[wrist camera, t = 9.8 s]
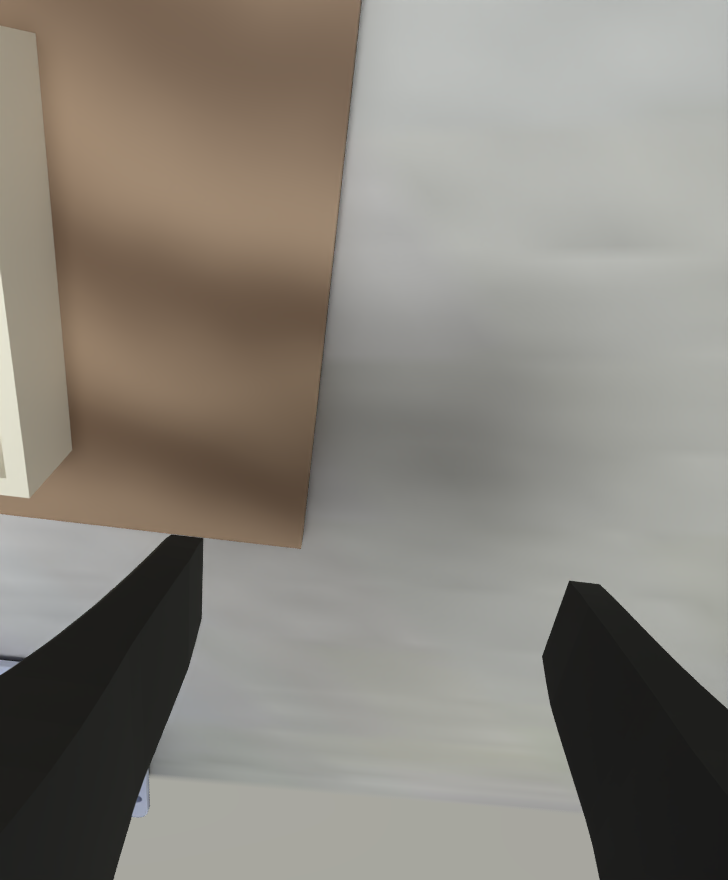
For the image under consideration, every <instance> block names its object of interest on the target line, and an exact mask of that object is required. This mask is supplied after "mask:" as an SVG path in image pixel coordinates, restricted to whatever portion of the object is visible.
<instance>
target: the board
mask: <svg viewBox="0 0 728 880" xmlns="http://www.w3.org/2000/svg"><path fill="white" fill-rule="evenodd" d="M361 2H362V0H0V26H4V27H9V28H14V29H18V30H23V31H27V32H32V33H36V45H37V56H38V67H39V79H40V90H41V101H42V113H43V124H44V135H45V147H46V158H47V169H48V181H49V192H50V203H51V215H52V226H53V237H54V249H55V260H56V271H57V283H58V294H59V305H60V317H61V328H62V339H63V351H64V362H65V373H66V385H67V396H68V407H69V419H70V430H71V441H72V451H71V452H70V453H69V454H68V455H67V457H66V458H65V459H64V460H63V461H62V462H61V463H60V465H59V466H58V467H57V468H56V469H55V470H54V471H53V472H52V474H51V475H50V476H49V477H48V478H47V479H46V480H45V481H44V483H43V484H42V485H41V486H40V487H39V488H38V489H37V491H36V492H35V493H34V494H33V495H32V496H31V497H30V498H23V497H14V496H6V495H0V514H6V515H14V516H23V517H31V518H40V519H49V520H57V521H66V522H74V523H83V524H91V525H100V526H109V527H117V528H126V529H134V530H143V531H152V532H160V533H169V534H177V535H186V536H194V537H203V538H212V539H220V540H229V541H237V542H246V543H255V544H263V545H272V546H280V547H289V548H297V549H301V545H302V539H303V532H304V522H305V513H306V504H307V495H308V486H309V477H310V468H311V458H312V449H313V440H314V431H315V422H316V413H317V404H318V395H319V385H320V376H321V367H322V358H323V349H324V340H325V331H326V321H327V312H328V303H329V294H330V285H331V276H332V267H333V258H334V248H335V239H336V230H337V221H338V212H339V203H340V194H341V184H342V175H343V166H344V157H345V148H346V139H347V130H348V120H349V111H350V102H351V93H352V84H353V75H354V66H355V57H356V47H357V38H358V29H359V20H360V11H361Z"/></svg>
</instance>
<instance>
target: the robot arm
mask: <svg viewBox="0 0 728 880" xmlns="http://www.w3.org/2000/svg"><path fill="white" fill-rule="evenodd" d="M202 576H203V538H197V537H189V536H180V535H170V536H169V537H167V538H166V539H165V540H164V541H163V542H162V543H161V544H160V545H159V546H158V547H157V548H156V549H155V550H154V551H153V552H152V553H151V554H150V555H149V556H148V557H147V558H146V559H145V560H144V561H143V562H142V563H141V564H139V565H138V566H137V567H136V568H135V569H134V570H133V571H132V572H131V573H130V574H129V575H128V576H127V577H126V578H125V579H124V580H122V581H121V582H120V583H119V584H118V585H117V586H116V587H115V588H113V589H112V590H111V591H110V592H109V593H108V594H107V595H106V596H104V597H103V598H102V599H101V600H100V601H99V602H98V603H97V604H95V605H94V606H93V607H92V608H91V609H89V610H88V611H87V612H86V613H84V614H83V615H82V616H81V617H79V618H78V619H77V620H76V621H74V622H73V623H72V624H71V625H69V626H68V627H67V628H66V629H64V630H63V631H62V632H61V633H59V634H58V635H57V636H56V637H54V638H53V639H51V640H50V641H49V642H47V643H46V644H45V645H43V646H42V647H41V648H39V649H38V650H36V651H35V652H34V653H32V654H31V655H29V656H28V657H26V658H25V659H24V660H22V661H21V662H16V661H7V660H0V880H113V879H114V875H115V872H116V868H117V864H118V861H119V857H120V854H121V851H122V847H123V844H124V841H125V837H126V834H127V831H128V827H129V824H130V820H131V817H144V816H145V815H147V812H148V809H149V807H150V799H149V770H148V768H149V765H150V763H151V760H152V758H153V755H154V753H155V750H156V748H157V745H158V743H159V740H160V738H161V736H162V733H163V731H164V728H165V726H166V723H167V721H168V718H169V716H170V713H171V711H172V708H173V706H174V703H175V701H176V698H177V695H178V693H179V690H180V688H181V685H182V683H183V680H184V678H185V675H186V673H187V670H188V667H189V664H190V660H191V657H192V653H193V649H194V646H195V642H196V638H197V634H198V630H199V627H200V623H201V619H202ZM542 658H543V665H544V671H545V678H546V684H547V689H548V695H549V700H550V705H551V709H552V712H553V716H554V719H555V722H556V726H557V729H558V732H559V736H560V739H561V742H562V746H563V749H564V752H565V755H566V758H567V762H568V765H569V768H570V771H571V774H572V778H573V781H574V784H575V787H576V790H577V794H578V797H579V800H580V803H581V806H582V810H583V813H584V816H585V819H586V823H587V827H588V830H589V834H590V838H591V841H592V845H593V849H594V854H595V859H596V864H597V868H598V873H599V878H600V880H728V709H727V708H726V707H725V706H724V705H722V704H721V703H720V702H719V701H718V700H717V699H716V698H715V697H714V696H712V695H711V694H710V693H709V692H708V691H707V690H706V689H705V688H704V687H703V686H701V685H700V684H699V683H698V682H697V681H696V680H695V679H694V678H693V677H692V676H691V675H690V674H689V673H688V672H687V671H686V670H685V669H683V668H682V667H681V666H680V665H679V664H678V663H677V662H676V661H675V660H674V659H673V658H672V657H671V656H670V655H669V654H668V653H667V652H666V651H665V650H664V649H663V648H662V647H661V646H660V645H659V644H658V643H657V642H656V641H655V640H654V639H653V638H652V637H651V636H650V635H649V634H648V633H647V632H646V630H645V629H644V628H643V627H642V626H641V625H640V624H639V623H638V622H637V621H636V620H635V619H634V618H633V617H632V616H631V615H630V614H629V613H628V612H627V611H626V610H625V609H624V608H623V607H622V606H621V605H620V604H619V603H618V602H617V601H616V600H615V599H614V598H613V597H612V596H611V595H610V594H609V593H608V592H607V591H606V590H605V589H604V588H603V587H602V586H601V585H600V584H592V583H584V582H575V581H569V583H568V586H567V589H566V591H565V594H564V597H563V600H562V603H561V605H560V608H559V611H558V614H557V616H556V619H555V622H554V625H553V628H552V630H551V633H550V636H549V639H548V641H547V644H546V647H545V650H544V653H543V655H542Z"/></svg>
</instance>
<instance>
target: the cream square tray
mask: <svg viewBox="0 0 728 880" xmlns="http://www.w3.org/2000/svg"><path fill="white" fill-rule="evenodd" d="M71 451H72V441H71V430H70V419H69V407H68V396H67V385H66V373H65V362H64V351H63V339H62V328H61V317H60V305H59V294H58V283H57V271H56V260H55V249H54V237H53V226H52V215H51V203H50V192H49V181H48V169H47V158H46V147H45V135H44V124H43V113H42V101H41V90H40V79H39V67H38V56H37V45H36V33H32V32H27V31H23V30H18V29H14V28H9V27H4V26H0V495H6V496H14V497H23V498H30V497H31V496H32V495H33V494H34V493H35V492H36V491H37V489H38V488H39V487H40V486H41V485H42V484H43V483H44V481H45V480H46V479H47V478H48V477H49V476H50V475H51V474H52V472H53V471H54V470H55V469H56V468H57V467H58V466H59V465H60V463H61V462H62V461H63V460H64V459H65V458H66V457H67V455H68V454H69V453H70V452H71Z"/></svg>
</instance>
